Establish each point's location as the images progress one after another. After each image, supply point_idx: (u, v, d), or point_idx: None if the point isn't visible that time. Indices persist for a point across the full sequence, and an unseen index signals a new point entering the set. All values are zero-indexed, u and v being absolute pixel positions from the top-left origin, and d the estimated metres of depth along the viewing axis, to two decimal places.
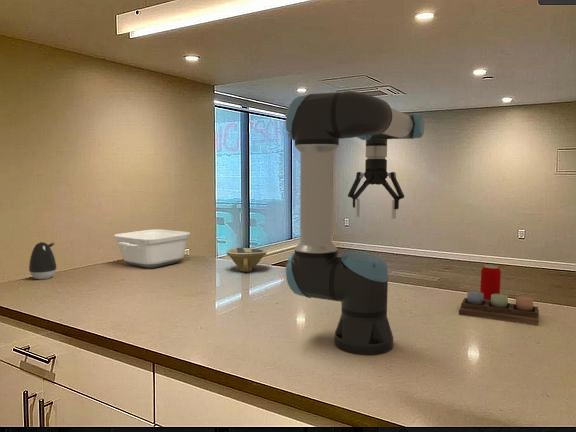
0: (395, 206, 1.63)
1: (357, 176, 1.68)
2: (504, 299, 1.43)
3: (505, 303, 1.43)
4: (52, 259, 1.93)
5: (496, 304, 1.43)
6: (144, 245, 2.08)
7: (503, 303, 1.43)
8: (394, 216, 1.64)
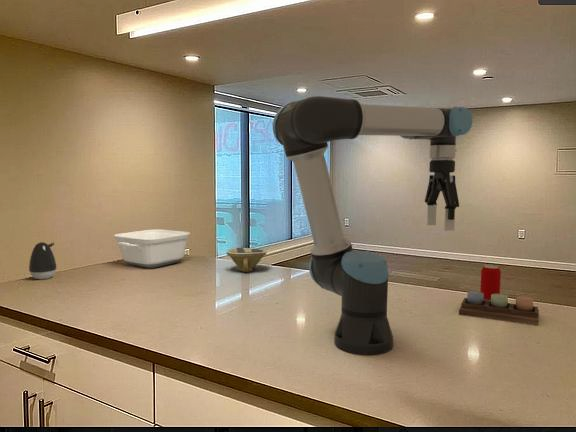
0: (448, 216, 1.38)
1: (429, 180, 1.51)
2: (504, 299, 1.43)
3: (505, 303, 1.43)
4: (52, 259, 1.93)
5: (496, 304, 1.43)
6: (144, 245, 2.08)
7: (503, 303, 1.43)
8: (449, 227, 1.39)
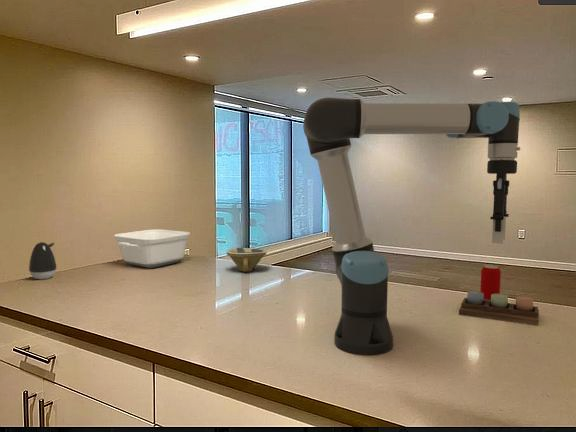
0: (495, 227, 1.27)
1: None
2: (504, 299, 1.43)
3: (505, 303, 1.43)
4: (52, 259, 1.93)
5: (496, 304, 1.43)
6: (144, 245, 2.08)
7: (503, 303, 1.43)
8: (496, 240, 1.27)
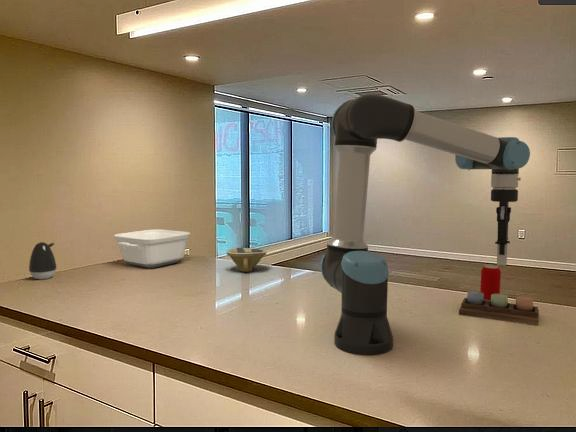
0: None
1: None
2: (504, 299, 1.43)
3: (505, 303, 1.43)
4: (52, 259, 1.93)
5: (496, 304, 1.43)
6: (144, 245, 2.08)
7: (503, 303, 1.43)
8: (500, 262, 1.43)
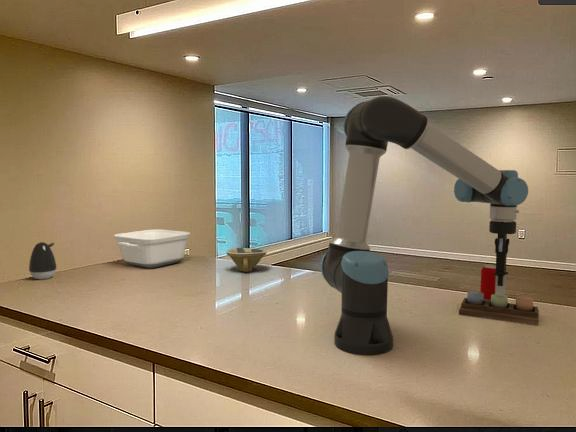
0: (497, 282, 1.44)
1: None
2: (504, 299, 1.43)
3: (505, 303, 1.43)
4: (52, 259, 1.93)
5: (496, 304, 1.43)
6: (144, 245, 2.08)
7: (503, 303, 1.43)
8: (498, 293, 1.44)
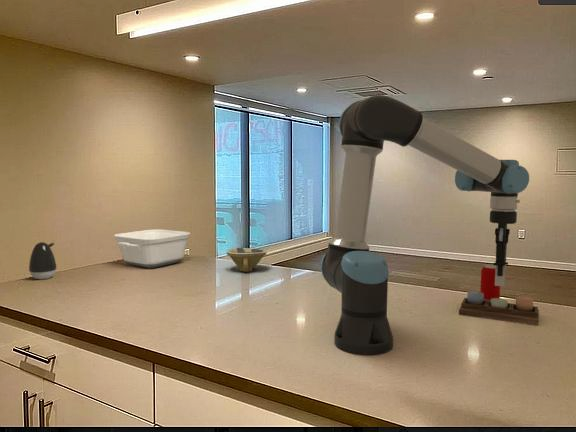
0: None
1: None
2: (504, 304, 1.43)
3: None
4: (52, 259, 1.93)
5: None
6: (144, 245, 2.08)
7: (503, 307, 1.43)
8: (498, 283, 1.44)
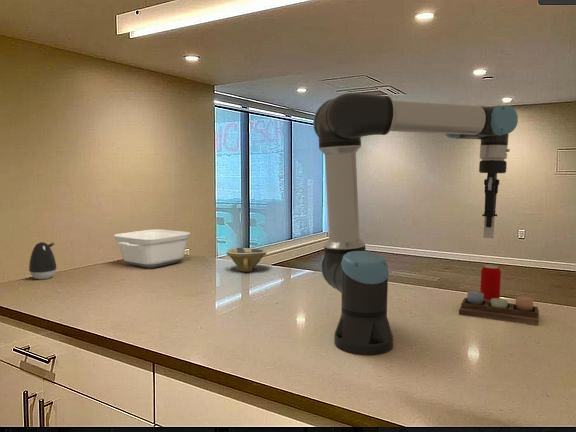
0: None
1: None
2: (504, 304, 1.43)
3: None
4: (52, 259, 1.93)
5: None
6: (144, 245, 2.08)
7: (503, 307, 1.43)
8: (487, 235, 1.41)
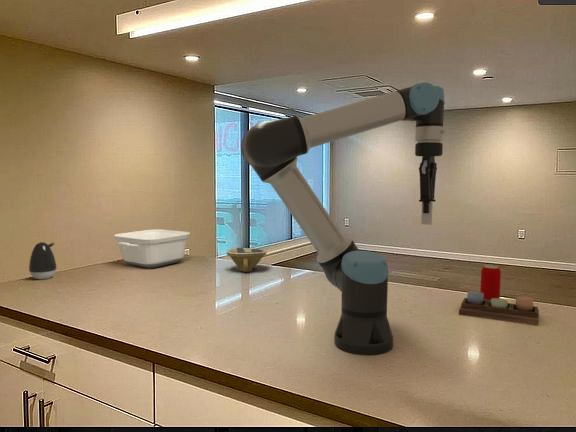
0: None
1: None
2: (504, 304, 1.43)
3: None
4: (52, 259, 1.93)
5: None
6: (144, 245, 2.08)
7: (503, 307, 1.43)
8: (425, 221, 1.34)
